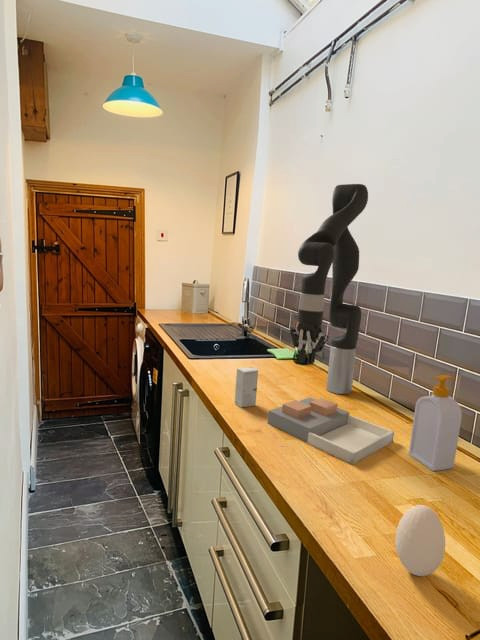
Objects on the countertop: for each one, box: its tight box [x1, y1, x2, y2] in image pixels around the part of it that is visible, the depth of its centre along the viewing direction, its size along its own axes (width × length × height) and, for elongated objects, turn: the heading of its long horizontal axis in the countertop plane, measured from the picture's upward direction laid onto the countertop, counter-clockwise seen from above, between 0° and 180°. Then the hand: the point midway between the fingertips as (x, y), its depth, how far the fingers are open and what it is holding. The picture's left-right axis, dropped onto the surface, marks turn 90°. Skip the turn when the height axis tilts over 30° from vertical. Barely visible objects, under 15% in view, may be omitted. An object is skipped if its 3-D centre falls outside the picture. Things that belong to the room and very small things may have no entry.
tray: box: [307, 414, 395, 466], centre depth 114 cm, size 21×14×3 cm, turn 133°
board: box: [267, 397, 350, 443], centre depth 124 cm, size 20×15×4 cm
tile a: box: [310, 397, 339, 416], centre depth 125 cm, size 6×6×2 cm
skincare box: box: [234, 366, 259, 408], centre depth 136 cm, size 6×4×12 cm
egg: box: [394, 504, 446, 577], centre depth 67 cm, size 7×7×12 cm
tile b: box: [281, 399, 311, 419], centre depth 122 cm, size 6×6×2 cm
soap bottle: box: [408, 374, 463, 472], centre depth 104 cm, size 9×7×23 cm
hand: (305, 362), depth 129 cm, fingers open, 2 cm apart
